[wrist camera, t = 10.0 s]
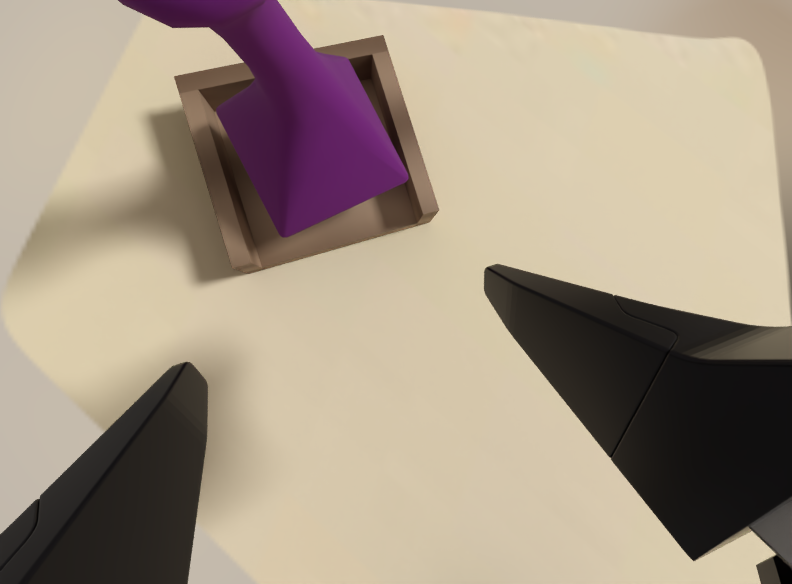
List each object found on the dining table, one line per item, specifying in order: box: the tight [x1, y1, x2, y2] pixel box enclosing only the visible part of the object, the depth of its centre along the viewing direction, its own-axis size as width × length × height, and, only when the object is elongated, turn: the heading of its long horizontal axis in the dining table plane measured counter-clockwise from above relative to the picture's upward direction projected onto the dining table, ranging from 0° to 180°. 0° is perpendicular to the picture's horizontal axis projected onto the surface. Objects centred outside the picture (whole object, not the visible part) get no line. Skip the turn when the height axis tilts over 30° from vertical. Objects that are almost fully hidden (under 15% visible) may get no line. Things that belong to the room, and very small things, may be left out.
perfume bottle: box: [118, 0, 409, 238], centre depth 10 cm, size 8×8×18 cm
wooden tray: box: [174, 35, 439, 273], centre depth 19 cm, size 11×12×2 cm
